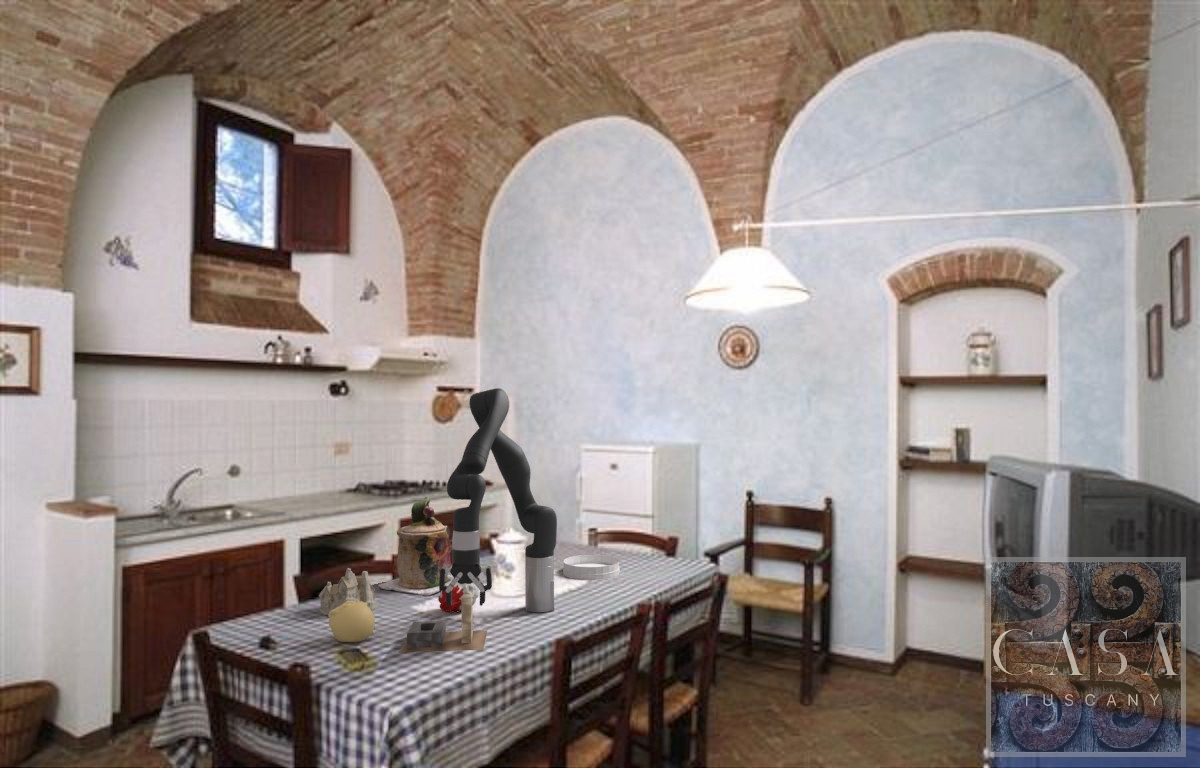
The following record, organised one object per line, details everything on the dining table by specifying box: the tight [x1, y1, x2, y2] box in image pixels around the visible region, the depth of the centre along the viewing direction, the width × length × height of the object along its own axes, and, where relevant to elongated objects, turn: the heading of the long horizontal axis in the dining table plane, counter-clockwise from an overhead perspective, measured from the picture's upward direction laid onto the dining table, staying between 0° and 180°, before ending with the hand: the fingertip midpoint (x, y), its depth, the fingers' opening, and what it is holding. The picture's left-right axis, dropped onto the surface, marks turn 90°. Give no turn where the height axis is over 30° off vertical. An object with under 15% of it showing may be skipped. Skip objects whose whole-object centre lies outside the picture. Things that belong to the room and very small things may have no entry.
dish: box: [562, 554, 621, 581], centre depth 287 cm, size 22×22×5 cm
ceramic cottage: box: [318, 567, 379, 617], centre depth 240 cm, size 16×16×15 cm
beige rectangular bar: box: [461, 594, 474, 643], centre depth 204 cm, size 2×5×12 cm, turn 5°
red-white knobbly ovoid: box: [437, 582, 480, 613], centre depth 237 cm, size 9×11×15 cm
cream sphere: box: [327, 601, 376, 643], centre depth 210 cm, size 11×12×11 cm
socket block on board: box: [398, 620, 488, 653], centre depth 203 cm, size 22×16×6 cm
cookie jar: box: [377, 495, 454, 597], centre depth 271 cm, size 25×25×32 cm
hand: (465, 605), depth 204 cm, fingers open, 8 cm apart
